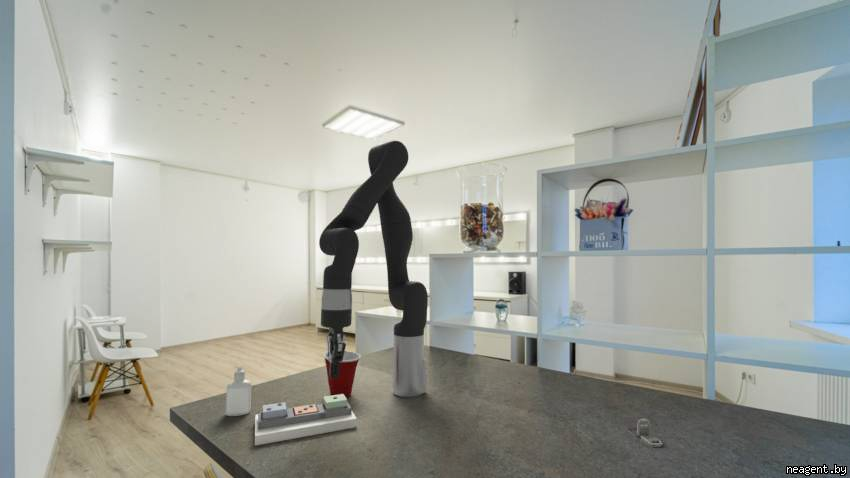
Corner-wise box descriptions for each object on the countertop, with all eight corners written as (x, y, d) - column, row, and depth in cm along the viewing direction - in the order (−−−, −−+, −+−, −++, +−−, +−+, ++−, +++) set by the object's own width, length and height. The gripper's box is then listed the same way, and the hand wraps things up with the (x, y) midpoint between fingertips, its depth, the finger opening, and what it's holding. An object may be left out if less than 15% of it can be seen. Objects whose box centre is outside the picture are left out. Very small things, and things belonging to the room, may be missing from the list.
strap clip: (664, 447, 80) (664, 427, 80) (651, 448, 79) (650, 428, 80) (637, 429, 88) (637, 411, 88) (625, 430, 88) (625, 411, 88)
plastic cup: (355, 403, 103) (356, 359, 104) (317, 402, 104) (318, 358, 104) (363, 389, 114) (364, 349, 115) (329, 389, 114) (329, 349, 115)
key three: (315, 410, 92) (315, 403, 92) (317, 417, 88) (317, 410, 88) (293, 413, 90) (293, 406, 90) (295, 421, 86) (295, 413, 86)
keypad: (345, 408, 99) (345, 395, 99) (356, 427, 88) (356, 411, 88) (255, 423, 90) (255, 408, 90) (254, 445, 79) (255, 428, 79)
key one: (343, 399, 95) (343, 393, 95) (347, 406, 91) (347, 399, 91) (323, 402, 93) (323, 396, 93) (326, 409, 89) (326, 402, 89)
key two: (285, 408, 90) (285, 401, 90) (286, 415, 86) (286, 408, 86) (262, 411, 88) (262, 404, 88) (262, 419, 84) (262, 411, 84)
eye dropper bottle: (241, 418, 93) (243, 369, 94) (222, 415, 94) (224, 367, 95) (253, 411, 97) (254, 364, 98) (234, 409, 99) (236, 363, 99)
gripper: (357, 309, 89) (355, 383, 88) (346, 303, 101) (344, 368, 100) (325, 310, 86) (323, 387, 85) (317, 304, 98) (315, 371, 97)
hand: (334, 377), depth 93 cm, fingers closed
